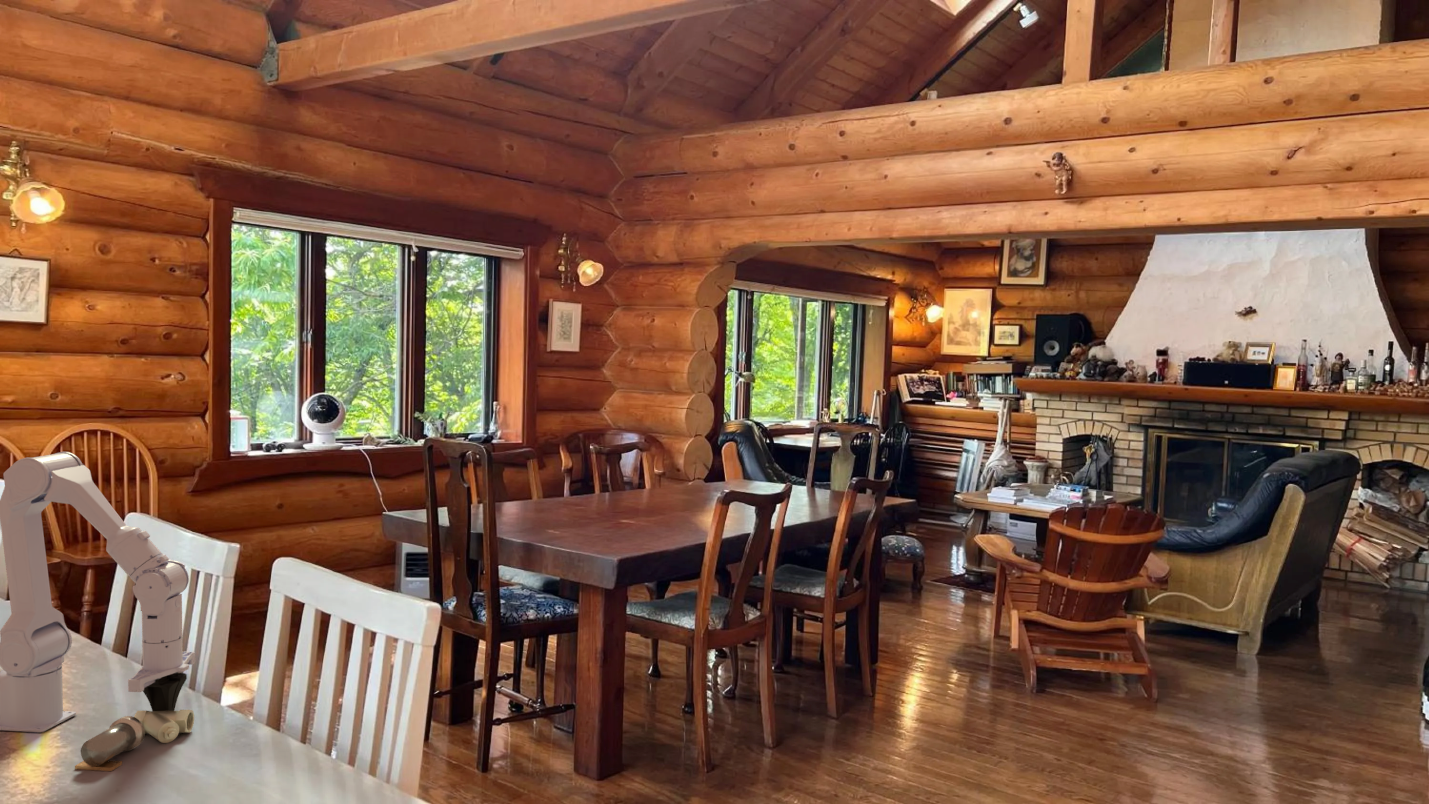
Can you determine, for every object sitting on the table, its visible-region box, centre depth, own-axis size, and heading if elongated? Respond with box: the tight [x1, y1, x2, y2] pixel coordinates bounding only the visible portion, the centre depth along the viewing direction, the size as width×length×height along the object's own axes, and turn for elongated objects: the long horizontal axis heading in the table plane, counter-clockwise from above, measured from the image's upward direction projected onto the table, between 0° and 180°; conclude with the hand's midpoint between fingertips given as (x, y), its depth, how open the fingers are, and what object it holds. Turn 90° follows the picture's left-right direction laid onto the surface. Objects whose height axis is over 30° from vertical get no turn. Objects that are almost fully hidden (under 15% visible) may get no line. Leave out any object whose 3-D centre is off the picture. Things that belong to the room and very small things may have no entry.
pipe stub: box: [74, 715, 146, 772], centre depth 153 cm, size 8×6×5 cm
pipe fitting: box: [133, 709, 195, 744], centre depth 161 cm, size 8×4×7 cm
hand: (163, 720), depth 166 cm, fingers closed
